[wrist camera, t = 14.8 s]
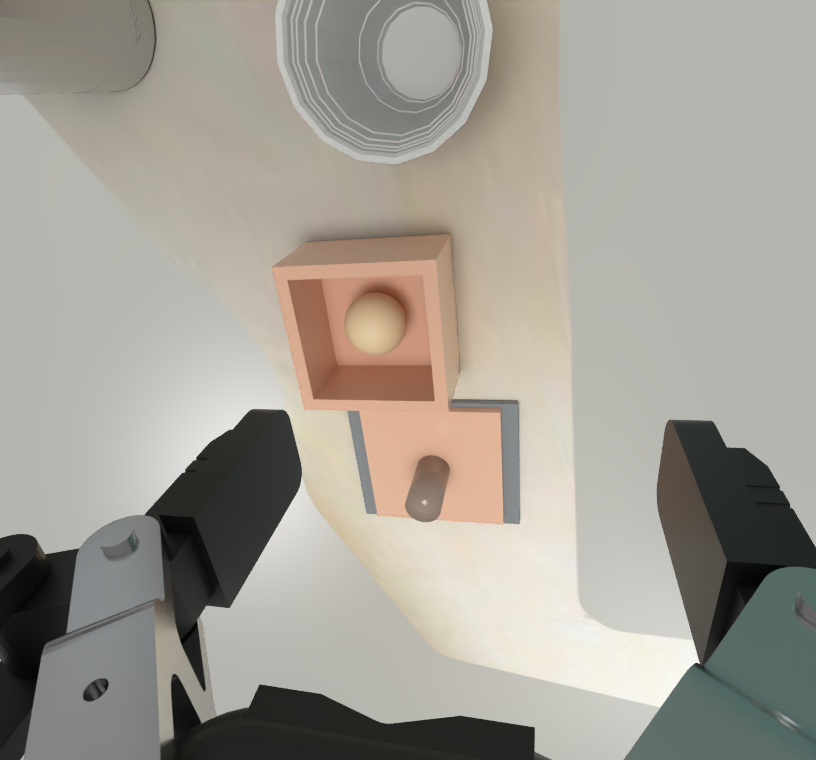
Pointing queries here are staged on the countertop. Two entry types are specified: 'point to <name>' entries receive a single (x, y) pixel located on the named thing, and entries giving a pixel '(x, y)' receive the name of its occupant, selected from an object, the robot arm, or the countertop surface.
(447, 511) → the lid
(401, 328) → the beige ball
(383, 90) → the plastic cup
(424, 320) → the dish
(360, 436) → the mat
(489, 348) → the countertop surface
